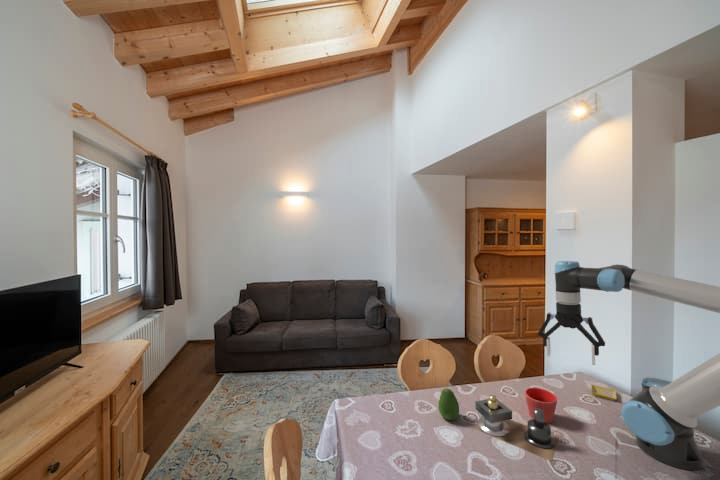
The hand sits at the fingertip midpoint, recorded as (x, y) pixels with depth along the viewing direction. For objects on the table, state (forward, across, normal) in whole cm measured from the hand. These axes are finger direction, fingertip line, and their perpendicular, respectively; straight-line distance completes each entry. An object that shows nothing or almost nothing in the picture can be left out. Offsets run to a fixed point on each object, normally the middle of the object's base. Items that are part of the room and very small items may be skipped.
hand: (570, 359), depth 108 cm
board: (+26, +16, +16) cm, 35 cm away
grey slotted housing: (+20, +23, +18) cm, 35 cm away
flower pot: (+26, +10, 0) cm, 28 cm away
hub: (+25, +23, +18) cm, 39 cm away
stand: (+26, +8, +15) cm, 31 cm away
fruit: (+26, +39, +22) cm, 52 cm away
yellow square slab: (+27, -8, -36) cm, 46 cm away
